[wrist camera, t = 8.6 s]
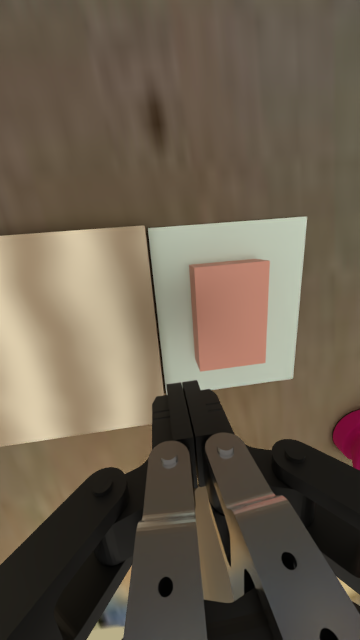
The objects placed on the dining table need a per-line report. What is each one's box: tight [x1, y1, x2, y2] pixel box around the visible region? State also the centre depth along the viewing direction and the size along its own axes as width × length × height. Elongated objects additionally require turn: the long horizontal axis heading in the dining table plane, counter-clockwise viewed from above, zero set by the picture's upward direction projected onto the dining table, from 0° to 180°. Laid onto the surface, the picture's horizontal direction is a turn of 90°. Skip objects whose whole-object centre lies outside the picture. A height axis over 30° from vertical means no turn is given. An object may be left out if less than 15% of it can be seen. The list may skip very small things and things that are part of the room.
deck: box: [0, 225, 164, 447], centre depth 19 cm, size 14×16×4 cm
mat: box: [148, 217, 307, 395], centre depth 22 cm, size 14×16×1 cm
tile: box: [189, 259, 270, 372], centre depth 21 cm, size 6×9×2 cm, turn 4°
